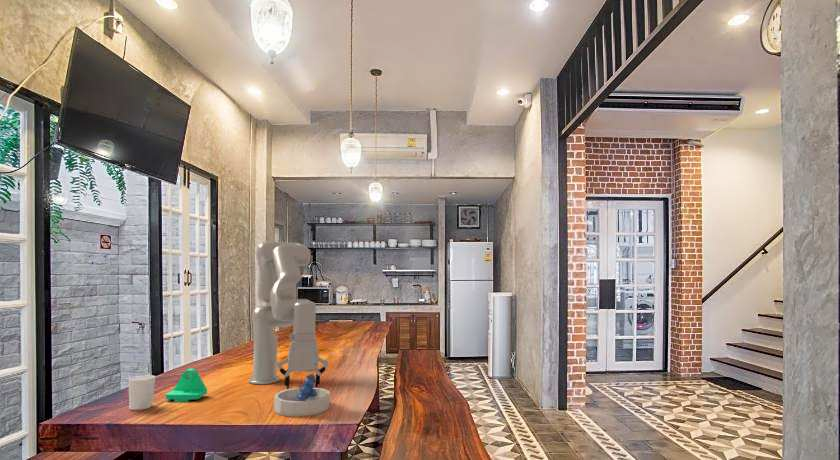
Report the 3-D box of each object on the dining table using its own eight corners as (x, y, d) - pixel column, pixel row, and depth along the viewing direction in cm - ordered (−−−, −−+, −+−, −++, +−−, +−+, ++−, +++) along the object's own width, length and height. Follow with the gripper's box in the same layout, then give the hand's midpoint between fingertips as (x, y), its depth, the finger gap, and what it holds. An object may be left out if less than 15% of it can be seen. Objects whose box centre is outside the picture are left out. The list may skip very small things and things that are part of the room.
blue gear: (306, 419, 159) (317, 393, 155) (287, 411, 159) (298, 384, 155) (317, 396, 170) (328, 371, 166) (299, 388, 170) (310, 363, 165)
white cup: (134, 412, 158) (136, 381, 159) (122, 408, 163) (124, 378, 163) (158, 406, 165) (159, 376, 166) (146, 402, 169) (147, 374, 170)
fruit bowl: (276, 402, 171) (276, 388, 172) (328, 399, 175) (328, 386, 176) (272, 418, 153) (272, 403, 154) (330, 414, 157) (330, 400, 158)
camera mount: (164, 402, 171) (165, 372, 171) (174, 396, 178) (175, 368, 179) (197, 402, 171) (199, 373, 172) (206, 396, 179) (208, 368, 179)
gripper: (277, 339, 161) (275, 391, 159) (329, 338, 164) (328, 389, 163) (278, 336, 168) (277, 385, 167) (328, 335, 172) (327, 383, 171)
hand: (302, 387), depth 165 cm, fingers open, 9 cm apart
